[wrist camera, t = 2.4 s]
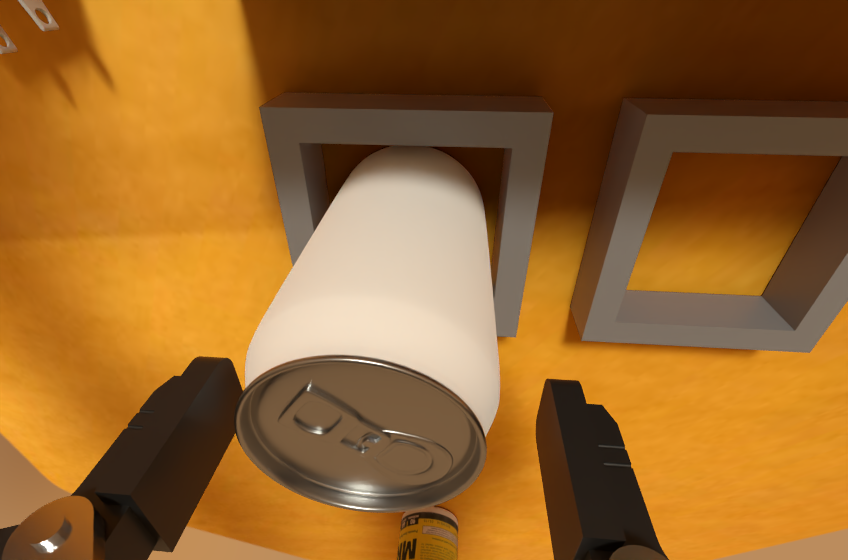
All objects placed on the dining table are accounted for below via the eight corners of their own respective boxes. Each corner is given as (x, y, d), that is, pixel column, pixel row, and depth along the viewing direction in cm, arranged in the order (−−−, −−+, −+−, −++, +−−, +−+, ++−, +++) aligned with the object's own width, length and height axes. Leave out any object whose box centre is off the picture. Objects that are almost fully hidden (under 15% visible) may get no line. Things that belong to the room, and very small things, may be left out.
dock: (301, 294, 22) (222, 445, 15) (229, -54, 14) (-27, -96, 7) (797, 317, 21) (979, 499, 13) (1045, -58, 12) (1877, -120, 5)
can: (427, 292, 22) (397, 545, 12) (317, 222, 20) (174, 453, 10) (515, 201, 18) (573, 445, 9) (393, 106, 17) (292, 281, 7)
